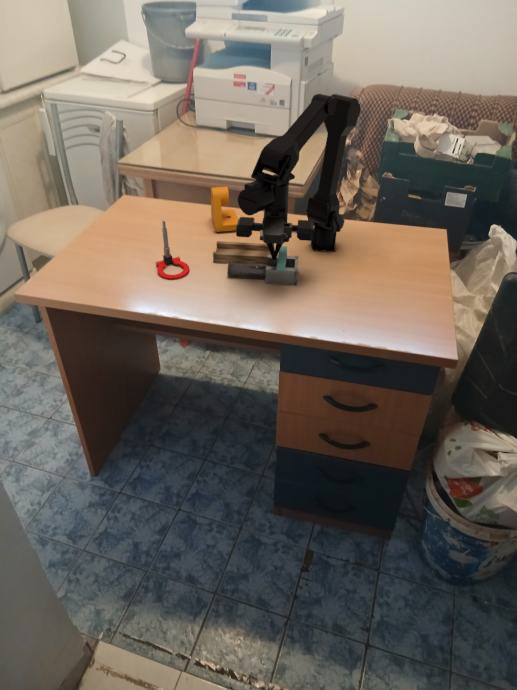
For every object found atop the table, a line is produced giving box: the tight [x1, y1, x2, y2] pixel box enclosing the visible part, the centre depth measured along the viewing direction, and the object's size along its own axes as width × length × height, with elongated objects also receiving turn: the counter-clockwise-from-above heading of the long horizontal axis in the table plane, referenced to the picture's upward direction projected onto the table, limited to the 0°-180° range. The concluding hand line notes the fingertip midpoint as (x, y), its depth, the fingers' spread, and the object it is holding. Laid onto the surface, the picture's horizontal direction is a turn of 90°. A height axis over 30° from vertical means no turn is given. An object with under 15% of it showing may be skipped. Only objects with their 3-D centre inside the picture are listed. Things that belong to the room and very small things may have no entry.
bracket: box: [210, 186, 239, 233], centre depth 152 cm, size 11×7×12 cm, turn 11°
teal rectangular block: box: [277, 245, 288, 271], centre depth 130 cm, size 2×9×2 cm, turn 175°
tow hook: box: [155, 220, 190, 281], centre depth 131 cm, size 8×13×9 cm
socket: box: [264, 255, 299, 286], centre depth 132 cm, size 8×8×4 cm
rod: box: [227, 263, 277, 280], centre depth 133 cm, size 14×4×4 cm, turn 85°
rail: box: [212, 240, 271, 265], centre depth 140 cm, size 16×8×3 cm, turn 85°
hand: (274, 259), depth 130 cm, fingers closed
